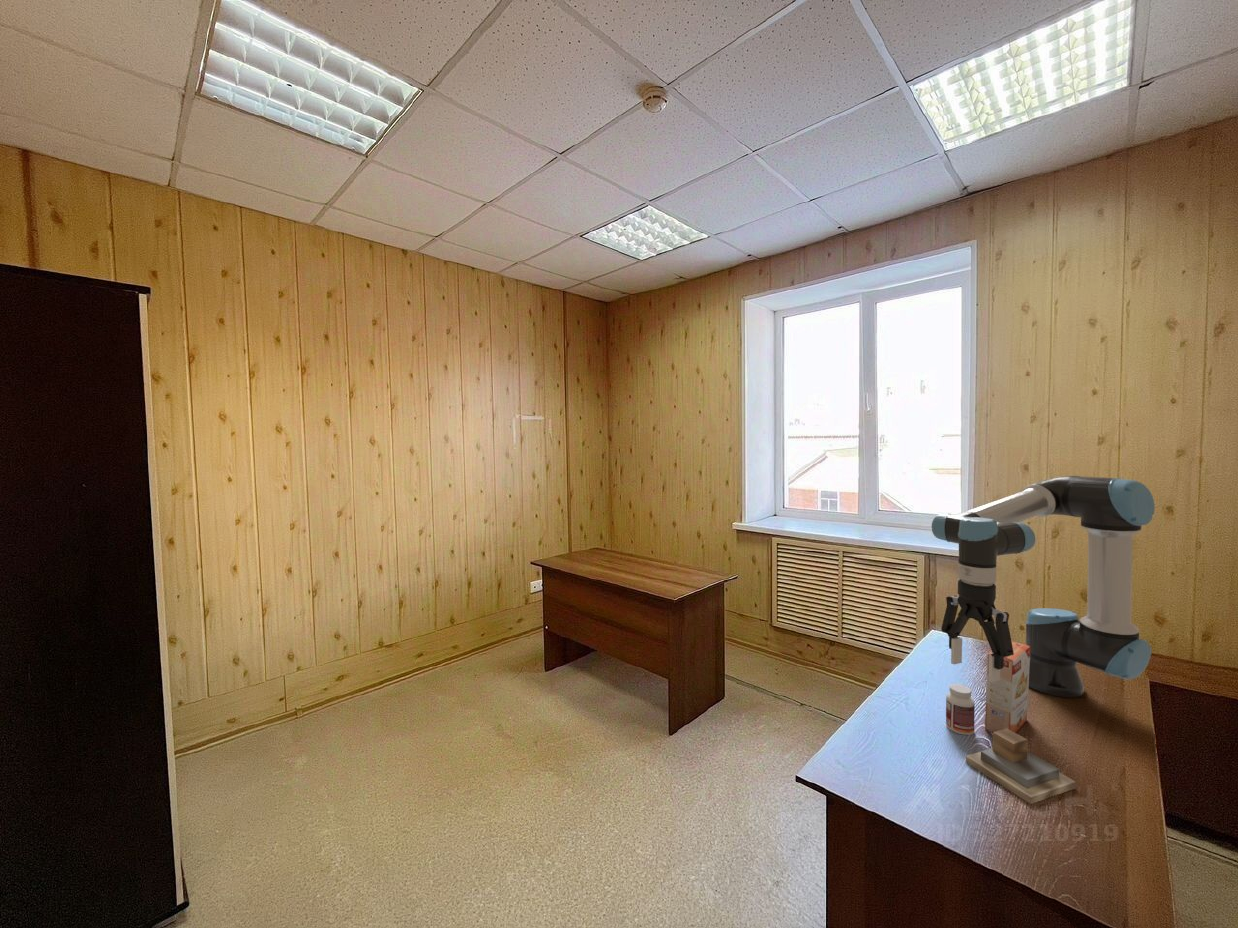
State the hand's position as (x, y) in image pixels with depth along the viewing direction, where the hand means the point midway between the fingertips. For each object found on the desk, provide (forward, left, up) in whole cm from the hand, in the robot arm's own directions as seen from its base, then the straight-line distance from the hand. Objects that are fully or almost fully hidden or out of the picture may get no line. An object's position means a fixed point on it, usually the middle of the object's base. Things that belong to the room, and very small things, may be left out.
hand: (974, 671), depth 120 cm
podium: (0, +10, -19) cm, 22 cm away
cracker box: (-17, -4, -20) cm, 26 cm away
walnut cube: (0, +8, -16) cm, 18 cm away
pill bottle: (-4, -6, -20) cm, 21 cm away
